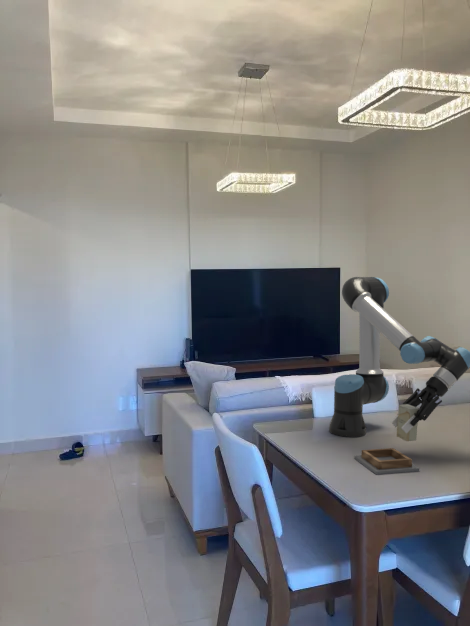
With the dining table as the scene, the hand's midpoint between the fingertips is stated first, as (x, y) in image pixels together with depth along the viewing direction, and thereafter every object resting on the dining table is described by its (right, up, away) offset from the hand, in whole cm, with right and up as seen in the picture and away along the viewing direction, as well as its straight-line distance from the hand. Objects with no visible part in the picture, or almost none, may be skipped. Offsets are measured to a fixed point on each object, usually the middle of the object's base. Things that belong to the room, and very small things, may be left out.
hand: (398, 427), depth 198 cm
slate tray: (-7, -11, -10) cm, 16 cm away
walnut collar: (-7, -11, -10) cm, 16 cm away
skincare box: (+3, -4, +1) cm, 6 cm away
